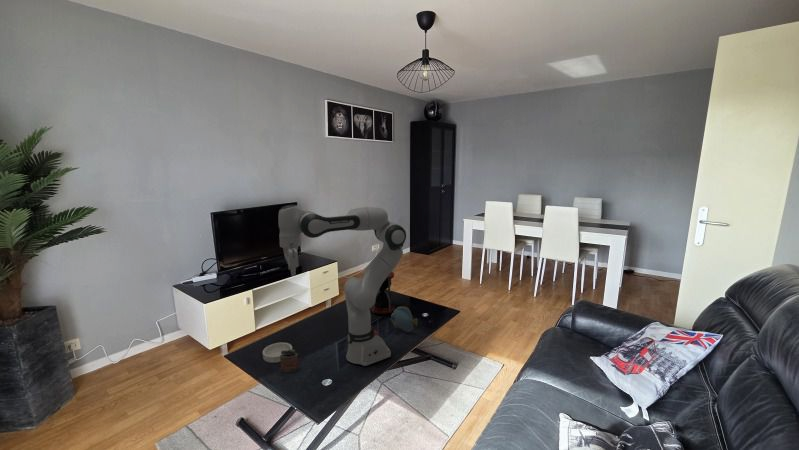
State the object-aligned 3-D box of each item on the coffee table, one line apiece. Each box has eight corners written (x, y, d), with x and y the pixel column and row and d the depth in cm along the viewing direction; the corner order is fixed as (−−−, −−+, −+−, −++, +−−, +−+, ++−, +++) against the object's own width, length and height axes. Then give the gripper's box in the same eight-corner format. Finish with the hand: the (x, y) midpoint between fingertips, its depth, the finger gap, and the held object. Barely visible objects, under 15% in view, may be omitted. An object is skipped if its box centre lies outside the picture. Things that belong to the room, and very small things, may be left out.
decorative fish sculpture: (395, 322, 207) (395, 299, 205) (422, 330, 196) (423, 306, 194) (383, 330, 197) (382, 305, 195) (411, 339, 186) (411, 313, 184)
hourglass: (365, 309, 227) (365, 273, 223) (384, 303, 238) (383, 268, 234) (381, 316, 215) (380, 279, 211) (399, 309, 226) (399, 273, 222)
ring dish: (290, 345, 180) (290, 340, 179) (293, 358, 167) (293, 353, 167) (262, 351, 174) (262, 346, 174) (263, 365, 162) (263, 359, 161)
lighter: (299, 367, 160) (297, 347, 159) (298, 371, 157) (297, 351, 155) (281, 368, 159) (280, 349, 157) (280, 372, 156) (278, 352, 154)
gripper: (301, 246, 140) (302, 278, 142) (294, 237, 158) (296, 266, 160) (285, 247, 137) (287, 280, 139) (280, 238, 156) (282, 267, 158)
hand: (292, 272), depth 150 cm, fingers open, 8 cm apart
